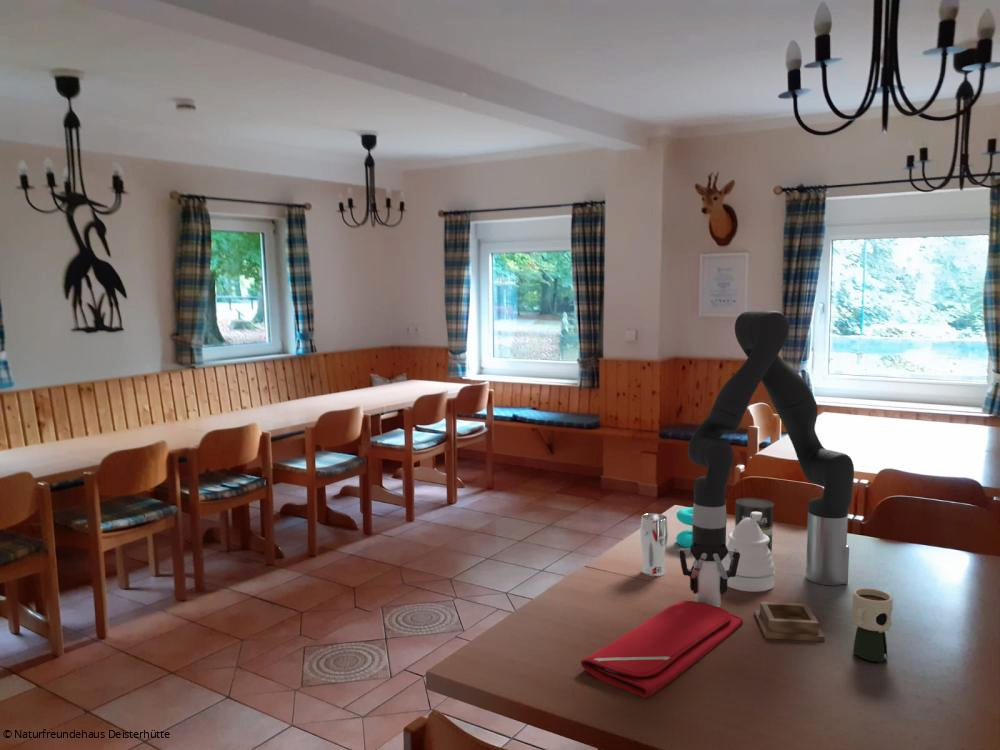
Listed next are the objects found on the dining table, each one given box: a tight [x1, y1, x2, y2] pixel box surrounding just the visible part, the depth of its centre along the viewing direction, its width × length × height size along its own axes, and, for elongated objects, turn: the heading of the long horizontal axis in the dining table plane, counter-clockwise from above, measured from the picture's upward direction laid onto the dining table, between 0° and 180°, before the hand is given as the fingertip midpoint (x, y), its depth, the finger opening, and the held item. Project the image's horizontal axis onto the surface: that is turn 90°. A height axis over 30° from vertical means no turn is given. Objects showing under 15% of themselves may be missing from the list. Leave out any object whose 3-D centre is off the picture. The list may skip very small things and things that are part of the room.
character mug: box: [851, 587, 894, 662], centre depth 151 cm, size 11×7×13 cm, turn 126°
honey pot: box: [721, 512, 775, 593], centre depth 190 cm, size 13×13×18 cm
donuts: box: [675, 506, 693, 548], centre depth 219 cm, size 10×10×10 cm
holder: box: [753, 601, 826, 642], centre depth 165 cm, size 12×12×4 cm
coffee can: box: [734, 497, 775, 556], centre depth 213 cm, size 10×10×14 cm
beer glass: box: [640, 513, 669, 577], centre depth 197 cm, size 7×7×15 cm
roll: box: [695, 560, 721, 608], centre depth 176 cm, size 6×6×11 cm
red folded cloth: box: [580, 600, 744, 699], centre depth 156 cm, size 16×41×4 cm, turn 139°
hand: (708, 592), depth 176 cm, fingers closed on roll, 5 cm apart
